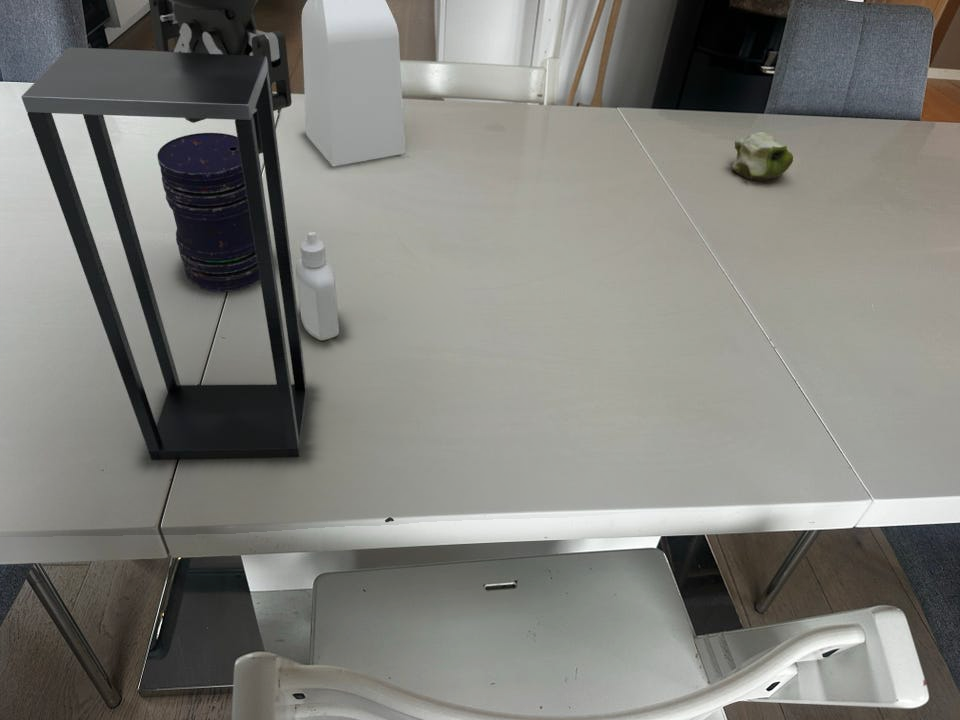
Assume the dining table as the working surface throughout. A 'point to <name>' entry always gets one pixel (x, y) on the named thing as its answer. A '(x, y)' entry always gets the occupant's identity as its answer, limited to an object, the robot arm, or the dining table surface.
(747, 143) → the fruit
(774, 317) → the dining table surface
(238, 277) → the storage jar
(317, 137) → the milk
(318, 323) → the eye dropper bottle
